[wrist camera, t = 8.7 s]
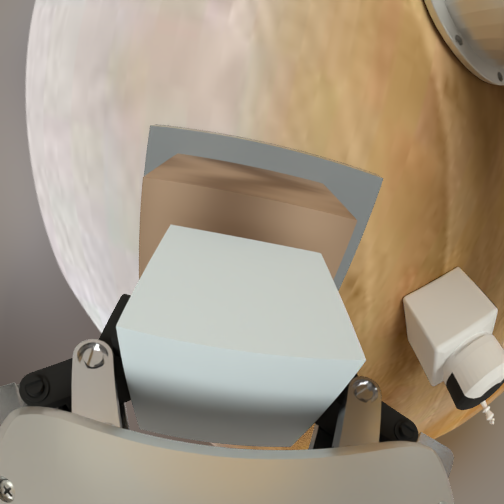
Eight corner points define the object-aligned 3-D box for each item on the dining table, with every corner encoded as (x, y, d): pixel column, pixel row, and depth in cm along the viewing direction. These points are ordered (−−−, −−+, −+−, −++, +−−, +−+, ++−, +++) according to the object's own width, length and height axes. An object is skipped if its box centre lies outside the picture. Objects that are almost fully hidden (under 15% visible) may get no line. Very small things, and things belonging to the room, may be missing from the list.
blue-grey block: (320, 252, 11) (366, 360, 6) (280, 351, 14) (290, 446, 9) (170, 224, 10) (116, 326, 5) (164, 333, 13) (139, 428, 8)
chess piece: (465, 400, 40) (480, 433, 31) (474, 389, 37) (491, 423, 28) (479, 393, 39) (494, 424, 31) (488, 381, 37) (505, 413, 28)
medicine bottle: (456, 310, 24) (507, 387, 14) (406, 339, 26) (448, 427, 15) (458, 264, 21) (529, 347, 11) (401, 296, 23) (461, 399, 12)
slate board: (375, 174, 17) (383, 178, 16) (321, 309, 23) (324, 318, 22) (156, 124, 15) (150, 125, 14) (144, 279, 21) (139, 287, 20)
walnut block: (322, 183, 16) (357, 220, 11) (284, 298, 21) (294, 359, 15) (177, 153, 15) (143, 177, 10) (164, 277, 19) (141, 335, 14)
